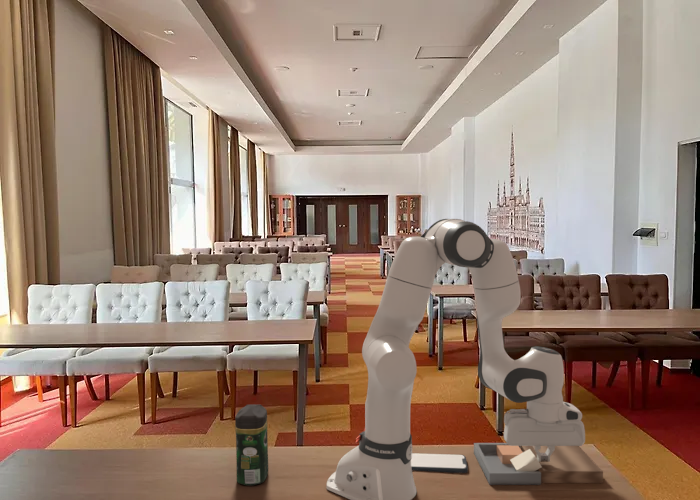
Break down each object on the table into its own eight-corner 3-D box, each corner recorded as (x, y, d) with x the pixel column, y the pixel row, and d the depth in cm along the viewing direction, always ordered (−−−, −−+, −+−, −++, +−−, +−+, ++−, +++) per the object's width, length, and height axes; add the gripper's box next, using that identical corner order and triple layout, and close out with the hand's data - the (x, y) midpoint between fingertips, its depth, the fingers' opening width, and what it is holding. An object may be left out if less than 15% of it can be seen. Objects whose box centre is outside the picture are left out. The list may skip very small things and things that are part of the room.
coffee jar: (241, 468, 147) (240, 401, 145) (270, 469, 146) (269, 401, 145) (233, 487, 137) (231, 415, 136) (264, 487, 137) (263, 415, 135)
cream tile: (521, 478, 140) (516, 470, 139) (514, 467, 146) (509, 459, 145) (541, 467, 139) (537, 459, 139) (534, 456, 145) (529, 448, 145)
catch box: (489, 484, 138) (489, 473, 137) (473, 453, 156) (473, 442, 155) (540, 484, 138) (541, 473, 137) (519, 453, 155) (519, 442, 155)
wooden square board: (539, 482, 139) (539, 471, 138) (520, 454, 154) (520, 444, 154) (602, 482, 138) (603, 471, 138) (577, 454, 154) (577, 444, 154)
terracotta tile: (502, 463, 148) (502, 454, 148) (496, 453, 154) (496, 445, 154) (524, 463, 148) (524, 454, 147) (517, 453, 154) (517, 445, 153)
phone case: (407, 472, 146) (468, 475, 144) (407, 466, 146) (468, 469, 143) (408, 457, 154) (465, 459, 152) (407, 452, 154) (465, 454, 152)
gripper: (507, 413, 138) (506, 466, 139) (588, 413, 138) (586, 466, 139) (501, 404, 144) (500, 455, 145) (578, 404, 144) (576, 455, 145)
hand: (543, 460), depth 142 cm, fingers closed
